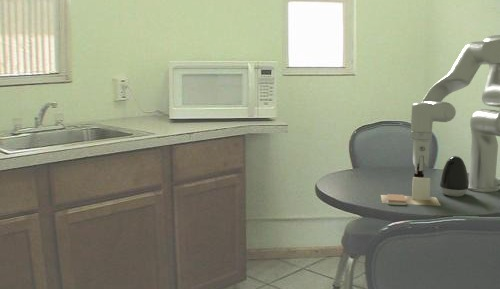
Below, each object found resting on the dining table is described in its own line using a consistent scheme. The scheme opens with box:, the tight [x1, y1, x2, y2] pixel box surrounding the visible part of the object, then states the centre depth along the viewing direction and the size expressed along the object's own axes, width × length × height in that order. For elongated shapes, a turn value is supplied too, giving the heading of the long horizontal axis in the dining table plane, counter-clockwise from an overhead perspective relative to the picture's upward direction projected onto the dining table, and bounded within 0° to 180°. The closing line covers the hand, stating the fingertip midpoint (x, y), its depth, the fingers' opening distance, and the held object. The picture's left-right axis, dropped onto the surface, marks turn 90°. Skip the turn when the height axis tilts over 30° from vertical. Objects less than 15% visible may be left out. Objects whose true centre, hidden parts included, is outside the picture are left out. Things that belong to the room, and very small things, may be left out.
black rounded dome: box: [439, 155, 469, 198], centre depth 190 cm, size 10×10×15 cm
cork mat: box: [380, 194, 442, 207], centre depth 183 cm, size 20×11×1 cm, turn 78°
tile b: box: [386, 193, 407, 206], centre depth 181 cm, size 6×2×8 cm
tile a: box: [411, 176, 432, 200], centre depth 184 cm, size 6×2×8 cm, turn 78°
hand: (418, 183), depth 190 cm, fingers closed
